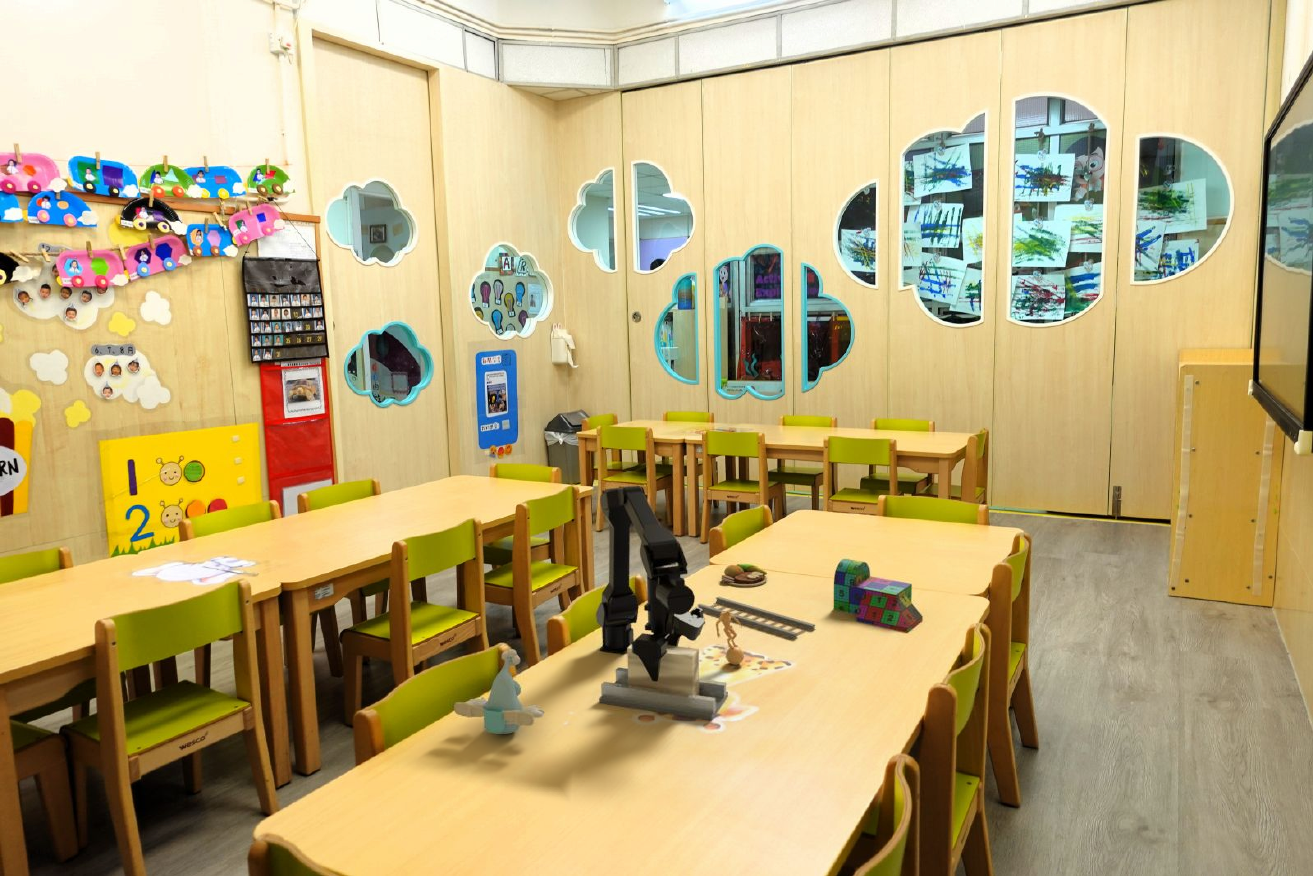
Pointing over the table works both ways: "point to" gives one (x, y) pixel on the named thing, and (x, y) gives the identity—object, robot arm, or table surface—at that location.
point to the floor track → (665, 697)
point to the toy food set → (744, 575)
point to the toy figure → (501, 703)
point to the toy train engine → (874, 597)
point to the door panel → (668, 671)
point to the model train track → (757, 624)
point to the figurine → (730, 638)
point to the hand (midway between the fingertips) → (663, 671)
